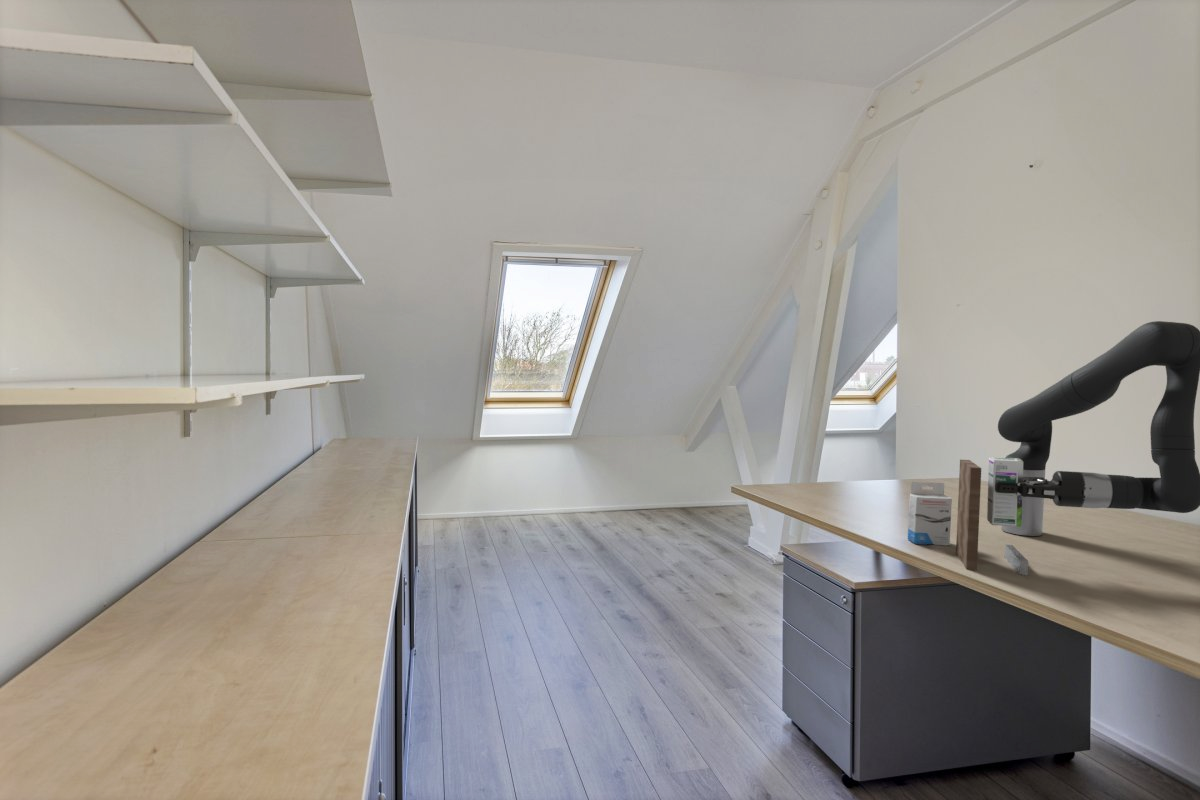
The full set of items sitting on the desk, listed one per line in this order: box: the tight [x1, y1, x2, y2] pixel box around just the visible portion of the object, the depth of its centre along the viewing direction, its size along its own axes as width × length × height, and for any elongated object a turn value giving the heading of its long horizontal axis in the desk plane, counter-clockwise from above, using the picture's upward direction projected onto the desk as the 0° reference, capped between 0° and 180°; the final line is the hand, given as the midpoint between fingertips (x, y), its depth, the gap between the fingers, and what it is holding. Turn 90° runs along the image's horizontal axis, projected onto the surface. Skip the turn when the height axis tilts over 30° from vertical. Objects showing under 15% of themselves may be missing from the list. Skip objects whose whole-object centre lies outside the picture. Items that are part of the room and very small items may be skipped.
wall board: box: [955, 459, 1029, 576], centre depth 153 cm, size 14×12×22 cm
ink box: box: [907, 481, 953, 546], centre depth 171 cm, size 9×5×15 cm, turn 84°
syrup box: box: [986, 456, 1023, 527], centre depth 152 cm, size 6×6×14 cm
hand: (992, 484), depth 153 cm, fingers closed on syrup box, 6 cm apart
